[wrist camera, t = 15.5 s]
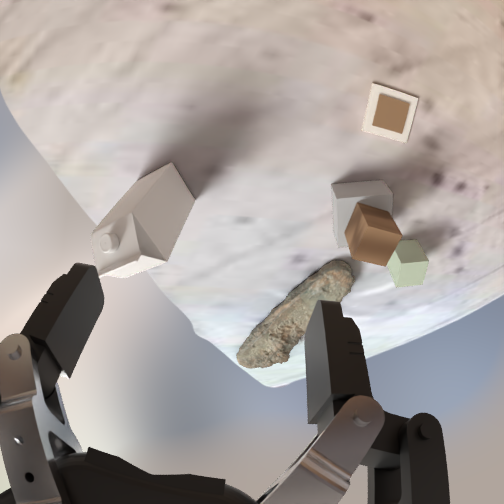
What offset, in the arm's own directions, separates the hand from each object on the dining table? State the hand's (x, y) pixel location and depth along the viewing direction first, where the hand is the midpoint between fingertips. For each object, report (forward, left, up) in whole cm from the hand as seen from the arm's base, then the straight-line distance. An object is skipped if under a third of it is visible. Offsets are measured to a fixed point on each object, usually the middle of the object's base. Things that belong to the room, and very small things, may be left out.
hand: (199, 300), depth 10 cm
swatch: (-4, +18, -33) cm, 38 cm away
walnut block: (+11, +17, -28) cm, 35 cm away
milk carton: (+13, -12, -33) cm, 38 cm away
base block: (+11, +17, -33) cm, 39 cm away
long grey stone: (+38, +12, -34) cm, 52 cm away
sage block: (+18, +28, -33) cm, 47 cm away
